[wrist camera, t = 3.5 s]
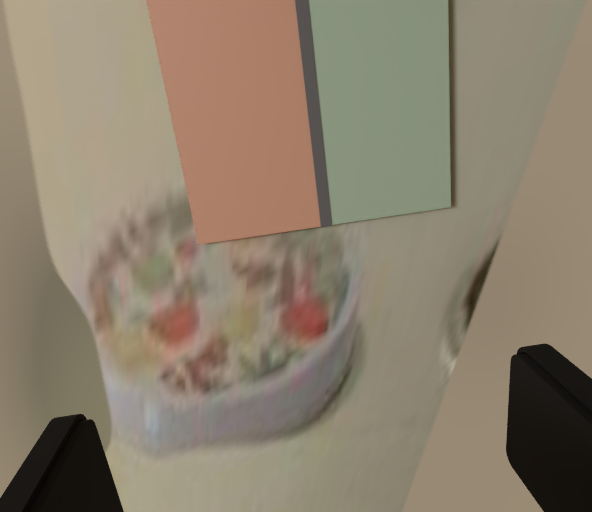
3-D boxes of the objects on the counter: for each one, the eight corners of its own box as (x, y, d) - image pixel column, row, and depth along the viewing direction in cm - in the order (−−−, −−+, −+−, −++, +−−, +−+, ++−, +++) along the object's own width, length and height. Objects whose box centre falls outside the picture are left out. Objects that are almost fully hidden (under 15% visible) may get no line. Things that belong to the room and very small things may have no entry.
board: (141, -36, 27) (137, -40, 26) (442, -72, 28) (447, -78, 27) (199, 241, 33) (198, 245, 32) (446, 204, 34) (451, 207, 33)
